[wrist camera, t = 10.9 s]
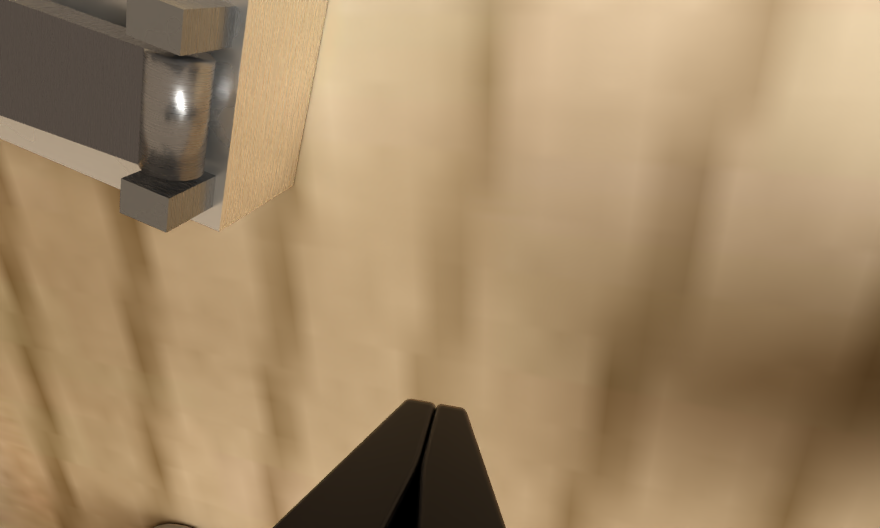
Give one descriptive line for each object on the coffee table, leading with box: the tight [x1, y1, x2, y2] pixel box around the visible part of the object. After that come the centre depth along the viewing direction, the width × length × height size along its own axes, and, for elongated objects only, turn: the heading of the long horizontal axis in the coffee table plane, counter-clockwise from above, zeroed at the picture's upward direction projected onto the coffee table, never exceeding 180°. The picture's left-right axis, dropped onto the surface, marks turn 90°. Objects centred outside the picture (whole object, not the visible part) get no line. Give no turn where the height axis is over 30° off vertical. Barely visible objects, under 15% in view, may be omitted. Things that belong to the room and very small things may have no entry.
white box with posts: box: [0, 0, 328, 232], centre depth 17 cm, size 12×7×8 cm, turn 73°
